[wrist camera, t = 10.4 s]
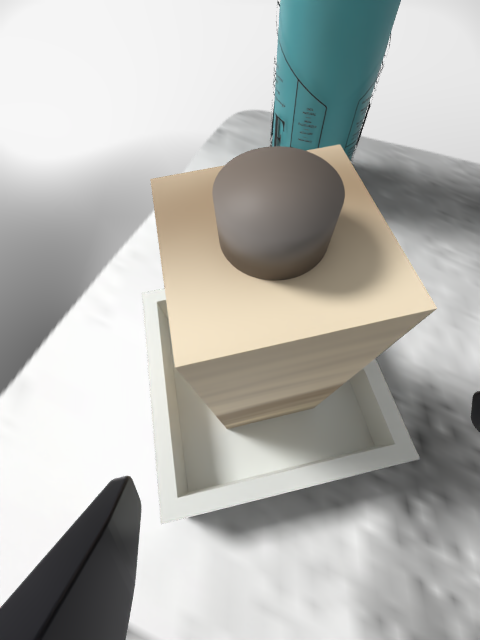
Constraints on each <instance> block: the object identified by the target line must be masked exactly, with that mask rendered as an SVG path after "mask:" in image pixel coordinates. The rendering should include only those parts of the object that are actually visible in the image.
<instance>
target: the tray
mask: <svg viewBox="0 0 480 640" xmlns="http://www.w3.org/2000/svg"><path fill="white" fill-rule="evenodd" d="M142 300H143V312H144V324H145V336H146V349H147V361H148V373H149V385H150V397H151V409H152V422H153V434H154V446H155V458H156V470H157V483H158V495H159V507H160V519H161V524H164V523H168V522H172V521H176V520H180V519H184V518H188V517H192V516H196V515H200V514H204V513H208V512H212V511H216V510H220V509H224V508H228V507H232V506H236V505H240V504H244V503H248V502H252V501H256V500H260V499H264V498H268V497H272V496H275V495H279V494H283V493H287V492H291V491H295V490H299V489H303V488H307V487H311V486H315V485H319V484H323V483H327V482H331V481H335V480H339V479H343V478H347V477H351V476H355V475H359V474H363V473H367V472H371V471H375V470H379V469H383V468H387V467H391V466H395V465H399V464H403V463H406V462H410V461H414V460H418V459H420V458H419V455H418V453H417V451H416V449H415V446H414V444H413V442H412V440H411V437H410V435H409V433H408V430H407V428H406V426H405V424H404V421H403V419H402V417H401V415H400V412H399V410H398V408H397V406H396V403H395V401H394V399H393V397H392V394H391V392H390V390H389V387H388V385H387V383H386V381H385V378H384V376H383V374H382V372H381V369H380V367H379V365H378V363H377V360H376V358H375V359H374V360H373V361H371V362H370V363H369V364H368V365H367V366H365V367H364V368H363V369H362V370H360V371H359V372H358V373H357V374H355V375H354V376H353V377H352V378H350V379H349V380H348V381H347V382H346V383H344V384H343V385H342V386H341V387H339V388H338V389H337V390H336V391H334V392H333V393H332V394H331V395H329V396H328V397H327V398H326V399H324V400H323V401H322V402H321V403H320V404H318V405H317V406H316V407H315V408H312V409H308V410H304V411H300V412H295V413H291V414H287V415H283V416H279V417H275V418H271V419H266V420H262V421H258V422H254V423H250V424H246V425H242V426H237V427H233V428H229V429H226V427H225V426H224V425H223V424H222V423H221V421H220V420H219V419H218V418H217V417H216V416H215V414H214V413H213V412H212V411H211V410H210V408H209V407H208V406H207V405H206V404H205V403H204V401H203V400H202V399H201V398H200V397H199V395H198V394H197V393H196V392H195V391H194V390H193V388H192V387H191V386H190V385H189V384H188V382H187V381H186V380H185V379H184V378H183V376H182V375H181V374H180V373H179V372H178V371H177V369H176V368H175V364H174V357H173V349H172V341H171V334H170V326H169V318H168V310H167V303H166V295H165V288H164V289H159V290H154V291H149V292H144V293H142Z"/></svg>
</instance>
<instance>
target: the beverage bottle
mask: <svg viewBox="0 0 480 640" xmlns="http://www.w3.org/2000/svg"><path fill="white" fill-rule="evenodd" d="M400 2H401V0H281V1H280V4H279V2H278V4H279V6H280V13H279V30H278V48H277V67H276V73H275V74H276V78H275V80H276V85H275V102H274V111H273V121H272V132H271V137H272V135H273V140H272V145H270V146H271V147H274V146H282V147H292V148H297V149H302V150H305V151H306V150H312V149H317V148H323V147H328V146H334V145H339V144H340V145H341V147H342V148H343V150H344V152H345V153H346V155H347V157H348V158H349V160H351V159H352V158H351V157H352V155H353V154H355V152H354V149H355V145H357V144H358V141H359V138H360V136H361V133H362V129H363V126H364V123H365V120H366V116H367V113H368V110H369V108H370V98H371V95H372V92H373V89H375V88H374V87H375V82H376V80H377V78H378V77H377V76H379V75H378V73H379V70H380V67H381V63H382V65H383V57H384V56H385V55H384V54H385V51H386V48H387V45H388V40H389V36H390V35H391V30H392V27H393V24H394V20H395V17H396V14H397V11H398V8H399V5H400ZM390 38H391V37H390ZM368 104H369V105H368ZM367 107H368V110H367ZM366 110H367V113H366ZM365 113H366V116H365ZM364 117H365V118H364ZM271 120H272V117H271ZM363 120H364V122H363ZM362 124H363V125H362ZM361 126H362V128H361ZM360 130H361V131H360ZM359 132H360V133H359ZM358 135H359V137H358ZM357 138H358V140H357ZM270 141H271V138H270ZM356 148H357V147H356ZM353 152H354V153H353ZM352 161H353V160H352ZM350 162H351V161H350ZM351 164H352V163H351Z"/></svg>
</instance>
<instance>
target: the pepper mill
mask: <svg viewBox="0 0 480 640" xmlns="http://www.w3.org/2000/svg"><path fill="white" fill-rule="evenodd" d="M151 187H152V195H153V202H154V210H155V218H156V226H157V233H158V241H159V249H160V256H161V264H162V272H163V280H164V287H165V295H166V303H167V310H168V318H169V326H170V334H171V341H172V349H173V357H174V364H175V368H176V369H177V371H178V372H179V373H180V374H181V375H182V376H183V378H184V379H185V380H186V381H187V382H188V384H189V385H190V386H191V387H192V388H193V390H194V391H195V392H196V393H197V394H198V395H199V397H200V398H201V399H202V400H203V401H204V403H205V404H206V405H207V406H208V407H209V408H210V410H211V411H212V412H213V413H214V414H215V416H216V417H217V418H218V419H219V420H220V421H221V423H222V424H223V425H224V426H225V427H226V429H229V428H233V427H237V426H242V425H246V424H250V423H254V422H258V421H262V420H266V419H271V418H275V417H279V416H283V415H287V414H291V413H295V412H300V411H304V410H308V409H312V408H315V407H316V406H317V405H318V404H320V403H321V402H322V401H323V400H324V399H326V398H327V397H328V396H329V395H331V394H332V393H333V392H334V391H336V390H337V389H338V388H339V387H341V386H342V385H343V384H344V383H346V382H347V381H348V380H349V379H350V378H352V377H353V376H354V375H355V374H357V373H358V372H359V371H360V370H362V369H363V368H364V367H365V366H367V365H368V364H369V363H370V362H371V361H373V360H374V359H375V358H376V357H378V356H379V355H380V354H381V353H383V352H384V351H385V350H386V349H388V348H389V347H390V346H391V345H393V344H394V343H395V342H396V341H397V340H399V339H400V338H401V337H402V336H404V335H405V334H406V333H407V332H409V331H410V330H411V329H412V328H414V327H415V326H416V325H417V324H419V323H420V322H421V321H422V320H423V319H425V318H426V317H427V316H428V315H430V314H431V313H432V312H433V311H435V310H436V309H437V307H436V305H435V304H434V302H433V300H432V299H431V297H430V295H429V294H428V292H427V290H426V289H425V287H424V285H423V283H422V282H421V280H420V278H419V277H418V275H417V273H416V272H415V270H414V268H413V267H412V265H411V263H410V262H409V260H408V258H407V256H406V255H405V253H404V251H403V250H402V248H401V246H400V245H399V243H398V241H397V240H396V238H395V236H394V234H393V233H392V231H391V229H390V228H389V226H388V224H387V223H386V221H385V219H384V218H383V216H382V214H381V213H380V211H379V209H378V207H377V206H376V204H375V202H374V201H373V199H372V197H371V196H370V194H369V192H368V191H367V189H366V187H365V185H364V184H363V182H362V180H361V179H360V177H359V175H358V174H357V172H356V170H355V169H354V167H353V165H352V164H351V162H350V160H349V158H348V157H347V155H346V153H345V152H344V150H343V148H342V147H341V145H340V144H339V145H334V146H328V147H323V148H317V149H312V150H306V151H305V150H302V149H297V148H292V147H282V146H274V147H263V148H258V149H254V150H251V151H248V152H245V153H243V154H241V155H239V156H237V157H235V158H233V159H232V160H231V161H229V162H228V163H227V164H226V165H225V166H219V167H214V168H208V169H203V170H197V171H192V172H186V173H181V174H176V175H170V176H165V177H159V178H154V179H151Z"/></svg>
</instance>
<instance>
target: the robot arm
mask: <svg viewBox="0 0 480 640" xmlns="http://www.w3.org/2000/svg"><path fill="white" fill-rule="evenodd" d="M471 420H472V423H473V425H474V426H475V428H476V429H477V430H478V431H479V432H480V391H477V392H475V393H474V395H473V400H472V411H471ZM140 520H141V501H140V498H139V495H138V493H137V490H136V488H135V485H134V483H133V480H132V478H131V477H130V476H124V477H120V478H116V479H113V480H111V481H110V482H109V483H108V485H107V486H106V487H105V488H104V489H103V490H102V492H101V493H100V494H99V495H98V496H97V497H96V498H95V500H94V501H93V502H92V503H91V504H90V505H89V506H88V508H87V509H86V510H85V511H84V512H83V513H82V515H81V516H80V517H79V518H78V519H77V520H76V521H75V523H74V524H73V525H72V526H71V527H70V528H69V529H68V531H67V532H66V533H65V534H64V535H63V536H62V538H61V539H60V540H59V541H58V542H57V543H56V544H55V546H54V547H53V548H52V549H51V550H50V551H49V552H48V554H47V555H46V556H45V557H44V558H43V559H42V560H41V562H40V563H39V564H38V565H37V566H36V567H35V569H34V570H33V571H32V572H31V573H30V574H29V575H28V577H27V578H26V579H25V580H24V581H23V582H22V583H21V585H20V586H19V587H18V588H17V589H16V590H15V592H14V593H13V594H12V595H11V596H10V597H9V598H8V600H7V601H6V602H5V603H4V604H3V605H2V606H1V608H0V640H126V635H127V629H128V623H129V617H130V612H131V606H132V600H133V594H134V587H135V579H136V569H137V556H138V544H139V532H140Z"/></svg>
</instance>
